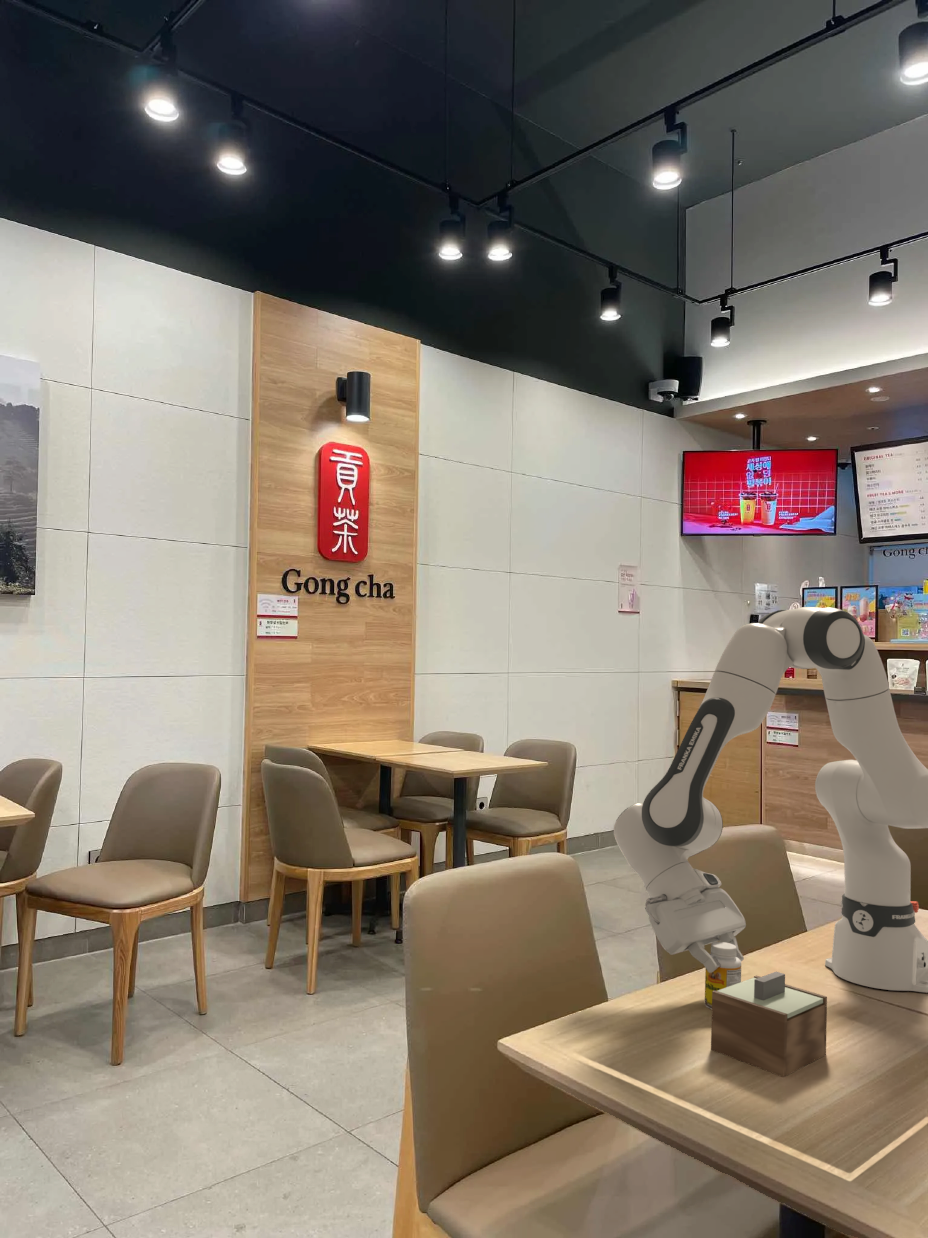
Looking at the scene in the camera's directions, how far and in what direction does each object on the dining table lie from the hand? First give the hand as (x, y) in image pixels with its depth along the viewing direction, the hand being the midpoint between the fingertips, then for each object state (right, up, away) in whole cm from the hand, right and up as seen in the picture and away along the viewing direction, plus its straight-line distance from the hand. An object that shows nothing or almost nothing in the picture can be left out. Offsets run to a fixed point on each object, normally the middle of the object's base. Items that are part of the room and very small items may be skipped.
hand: (727, 966), depth 146 cm
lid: (+1, +2, -17) cm, 17 cm away
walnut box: (+1, -6, -18) cm, 19 cm away
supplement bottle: (-1, -7, 0) cm, 7 cm away
